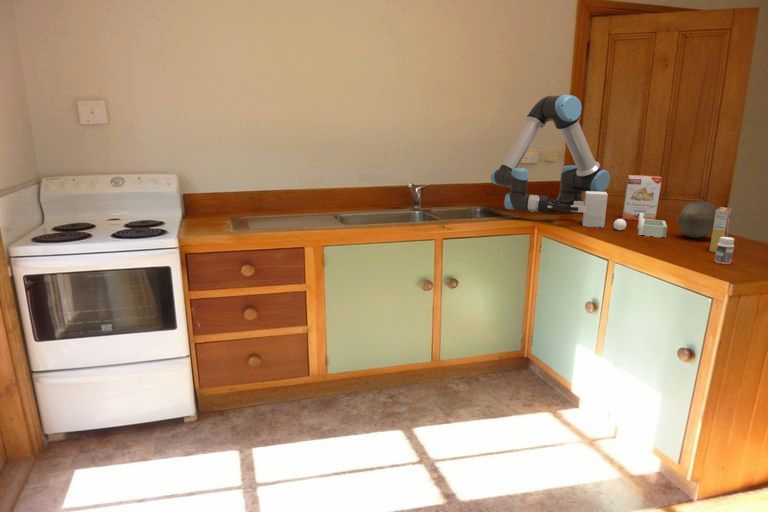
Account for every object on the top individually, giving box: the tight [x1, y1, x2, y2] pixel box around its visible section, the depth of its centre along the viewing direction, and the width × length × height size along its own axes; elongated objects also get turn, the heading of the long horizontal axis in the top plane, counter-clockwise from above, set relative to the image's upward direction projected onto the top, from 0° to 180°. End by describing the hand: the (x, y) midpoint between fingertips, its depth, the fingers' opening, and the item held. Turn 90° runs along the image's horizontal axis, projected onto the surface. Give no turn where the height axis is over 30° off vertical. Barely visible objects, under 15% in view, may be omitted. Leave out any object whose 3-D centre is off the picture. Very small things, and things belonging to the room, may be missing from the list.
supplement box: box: [581, 191, 609, 229], centre depth 226 cm, size 9×9×15 cm
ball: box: [613, 218, 627, 231], centre depth 217 cm, size 5×5×5 cm
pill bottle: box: [714, 236, 735, 265], centre depth 168 cm, size 5×5×8 cm
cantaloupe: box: [678, 200, 718, 239], centre depth 202 cm, size 14×14×15 cm
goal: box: [637, 213, 668, 239], centre depth 212 cm, size 16×10×7 cm, turn 155°
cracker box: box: [621, 174, 663, 222], centre depth 239 cm, size 14×6×21 cm, turn 68°
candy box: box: [709, 206, 733, 253], centre depth 183 cm, size 9×4×15 cm, turn 140°
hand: (587, 207), depth 226 cm, fingers open, 13 cm apart
